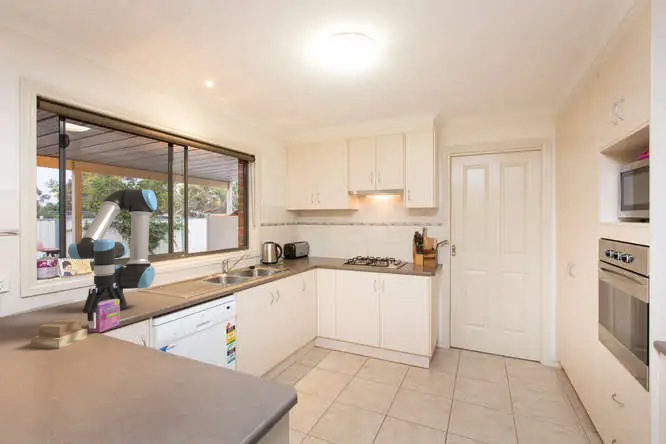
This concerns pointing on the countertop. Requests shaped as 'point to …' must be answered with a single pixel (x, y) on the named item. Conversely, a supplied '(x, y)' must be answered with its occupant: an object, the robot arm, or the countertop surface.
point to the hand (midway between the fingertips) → (104, 323)
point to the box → (106, 315)
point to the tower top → (59, 328)
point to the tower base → (58, 340)
